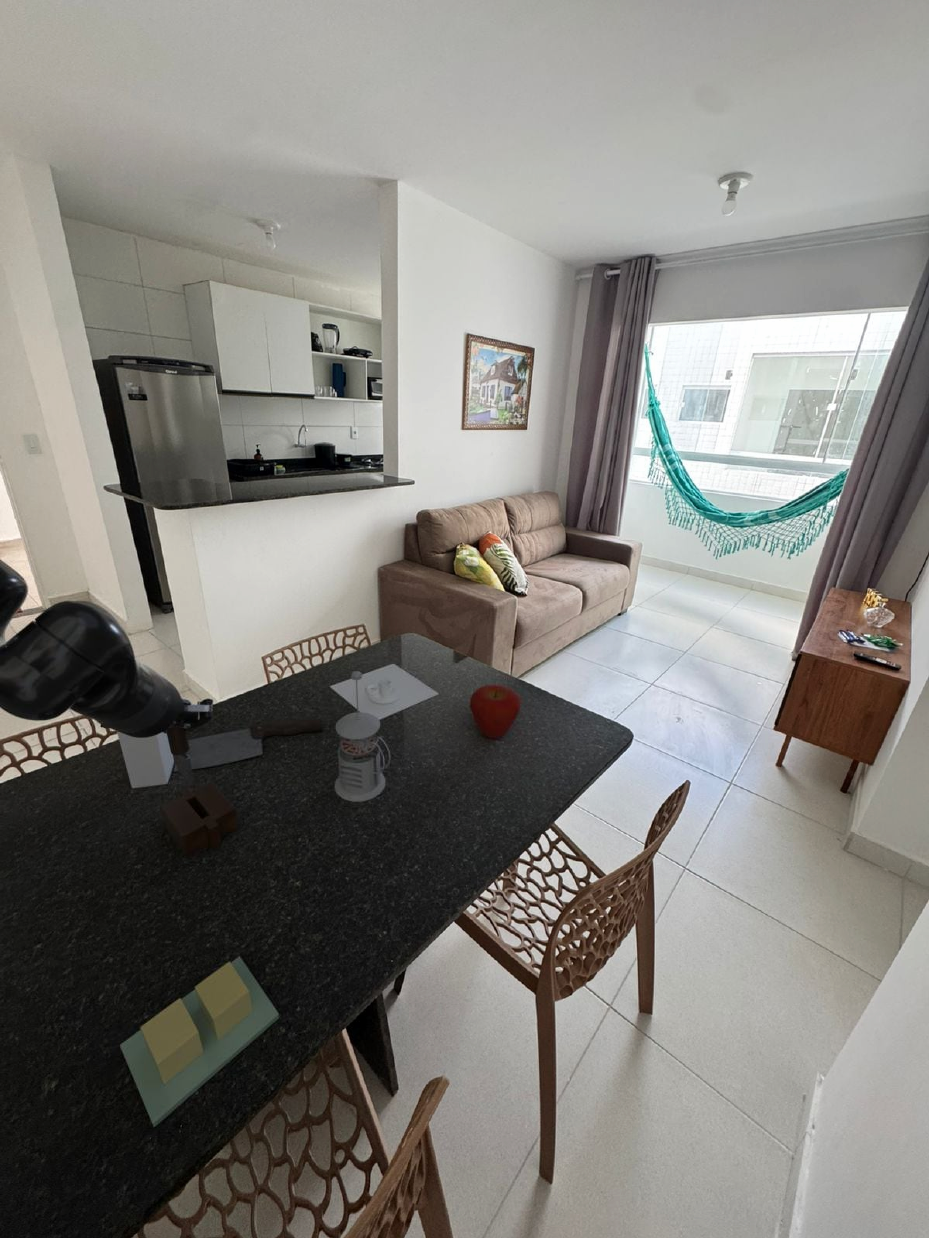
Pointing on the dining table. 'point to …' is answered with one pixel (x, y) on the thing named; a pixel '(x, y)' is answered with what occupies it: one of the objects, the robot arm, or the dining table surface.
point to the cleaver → (243, 742)
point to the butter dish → (206, 1061)
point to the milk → (147, 759)
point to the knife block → (199, 818)
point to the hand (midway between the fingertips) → (180, 725)
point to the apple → (494, 709)
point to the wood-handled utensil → (181, 752)
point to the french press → (359, 755)
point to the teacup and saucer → (384, 691)
